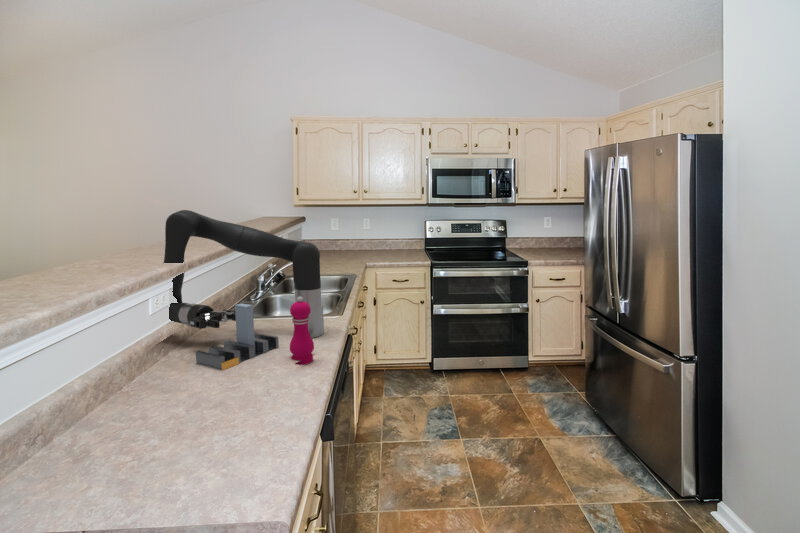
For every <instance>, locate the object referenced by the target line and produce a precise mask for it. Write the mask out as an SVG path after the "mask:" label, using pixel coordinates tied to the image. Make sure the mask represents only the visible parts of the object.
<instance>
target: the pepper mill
mask: <svg viewBox="0 0 800 533" xmlns="http://www.w3.org/2000/svg"><path fill="white" fill-rule="evenodd" d="M297 301H298V302H295V301H294V302H293V303H292V304H291V306H290V309H289V313H290V315H291V316H292V318H291V320H292V324H293V334H292V338H291V340H290V342H289V352H290V353H291V354H292V355H291V359H292V360H295V361H297V362H295V363H294V365H297V366H298V365H299V366H300V365H308V364H310V363H311V364H312V362H313V361H314V355H313V354H312V353H313V352H314V350H315V343H314V341H313V338H311V336H310V334H309V331H308V323H309V317H308V315H309V314H310V312H311V308H310V305H309V304H308V303H306V302H303V298H302V297H298V298H297Z"/></svg>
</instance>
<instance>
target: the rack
mask: <svg viewBox="0 0 800 533" xmlns="http://www.w3.org/2000/svg"><path fill="white" fill-rule="evenodd" d="M254 337H255V345H250V344H245V343H240V342H237V341H235V340H229V339H228V340H226V341H223V346H220V345H215V344H214V345H211V346H209V347H208V352H207V351H204V350H203V351H202V350H196V351H195V362H196V363H195V364H198V365H201V366H206V367H208V368H209V367H210V368H213V369H217V370H220V371H225V370H227V369H229V368H233V367H234V366H237V365H240V363H241V364H242V363H244V362H245V361H248V360H250V359H253V358H256V357H258V356H260V355H264V354H266V353H269V352H271V351H274V350H276V349H278V348H280V344H279V336H277V335H271V334H267V333H265V334H264V333H261V332H255V331H254Z"/></svg>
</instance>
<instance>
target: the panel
mask: <svg viewBox="0 0 800 533" xmlns="http://www.w3.org/2000/svg"><path fill="white" fill-rule="evenodd" d="M234 311H235V316H236V321H235V328H236V342H240V343H245V344H250V345H255V337H254V332H255V324H254V320H255V318H254V305H253V304H246V303H237V304H234Z"/></svg>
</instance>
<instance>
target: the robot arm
mask: <svg viewBox="0 0 800 533" xmlns="http://www.w3.org/2000/svg"><path fill="white" fill-rule="evenodd" d="M164 227H165V229H164V231H165V240H164V241H165V244H164V258H163V264H164V263H183V262H184V263H185V253H186V248H187V247H188V242H189V240H190V238H191V237H195V238H197V237H198V238H202V239H206V240H211V241H213V242H217V243H218V244H220V245H222V246H223V247H226V248H227V249H229V250H232V251H234V252H238V253H242V254H246V255H249V256H255V257H262V258H264V257H265V258H275V259H280V260H281V259H282V260H285V261H288V262H291V263H292V277H293V279H292V280H293V284H294V285H293V286H294V303H295V302H298V301H297V298H298V297H302V298H303V302H306V303H308V304H309V305H310V308H311V312H310V314H309V315H308V317H309V323H308V331H309V334H310V336H311V338H312V339H313V338H318V337H321V336H322V335H323V333H325V326H324V324H325V323H324V307H323V306H322V287H321V286H322V285H321V284H322V282H321V264H320V261H321V252H320V250H319V248H318V246H317V245H315V244H314V243H312V242H308V241H299V240H295V239H294V240H292V239H287V238H285V237H284V238H283V237H281V236H277V235H275V234H273V233H269V232H267V231H263V230H260V229H257V228H254V227H249V226H245V225H241V224H237V223H233V222H228V221H223V220H217V219H215V218H211V217H209V216H206V215H203V214H201V213H198V212H196V211H193V210H189V209H182V210H178V211H176V212H173V213H171V214H170V215H169V216H168V217H167V218H166V220H165V226H164ZM184 280H185V272H184V273H182V274H180V275H178V276H176V277H175V278H173V280H172V282H173V291H172V292H173V296H174V297H175V298H176V299H177V302H178V303H171V304H170V307H169V319H170V320H171V321H174V322H173V323H178V324H182V325H187V326H189V327H192V328H195V329H200V330H202V329H203V330H204V329H209V328H213V329H214V328H215V329H220V323H226V322H229V321H233V322H236V316H235V310H231V309H223V310H222V311H219V310H214V308H212V306H209V305H206V304H199V303H188V302H183V295H182V294H183V293H182V289H183V284H184Z"/></svg>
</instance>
